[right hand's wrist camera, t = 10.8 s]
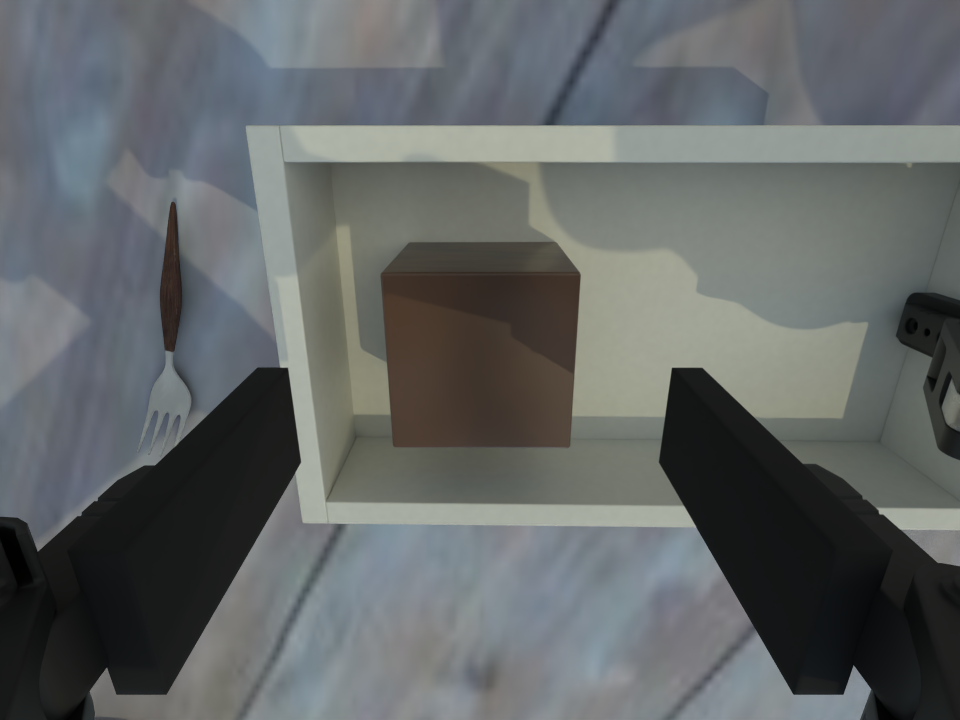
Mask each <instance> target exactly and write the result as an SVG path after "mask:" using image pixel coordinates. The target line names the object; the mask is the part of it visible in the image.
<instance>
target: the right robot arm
mask: <svg viewBox="0 0 960 720" xmlns="http://www.w3.org/2000/svg"><path fill="white" fill-rule="evenodd" d="M300 464H301V457H300V449H299V442H298V435H297V428H296V421H295V414H294V406H293V399H292V392H291V385H290V378H289V370H288V368H257V369H256V370H255V371H254V372H253V373H251V374H250V375H249V376H248V377H247V378H246V379H245V380H244V381H243V382H242V383H241V384H240V385H239V386H238V387H237V388H236V389H235V390H234V391H233V392H232V393H231V394H230V395H228V396H227V397H226V398H225V399H224V400H223V401H222V402H221V403H220V404H219V405H218V406H217V407H216V408H215V409H214V410H213V411H212V412H211V413H210V414H209V415H208V416H207V417H206V418H204V419H203V420H202V421H201V422H200V423H199V424H198V425H197V426H196V427H195V428H194V429H193V430H192V431H191V432H190V433H189V434H188V435H187V436H186V437H185V438H184V439H183V440H181V441H180V442H179V443H178V444H177V445H176V446H175V447H174V448H173V449H172V450H171V451H170V452H169V453H168V454H167V455H166V456H165V457H164V458H163V459H162V460H161V461H160V462H158V463H157V464H156V465H155V466H143V467H141V468H139V469H137V470H136V471H134V472H132V473H130V474H128V475H126V476H125V477H123V478H121V479H119V480H117V481H116V482H115V483H114V484H113V485H112V486H111V487H110V488H109V489H107V490H106V491H105V492H104V493H103V494H102V495H101V496H100V497H99V498H98V501H94V502H93V503H92V504H91V505H90V506H88V507H87V508H86V509H85V510H84V511H83V512H82V515H81V516H77V517H76V518H75V519H74V520H73V521H72V522H71V523H70V524H68V525H67V526H66V527H65V528H64V529H63V530H62V531H61V532H60V533H58V534H57V535H56V536H55V537H54V538H53V539H52V540H51V541H50V542H48V543H47V544H46V545H45V546H44V547H43V548H42V549H41V550H40V551H37V549H36V546H35V543H34V541H33V538H32V535H31V533H30V530H29V527H28V524H27V523H25V522H24V521H22V520H20V519H19V518H12V517H0V720H94V715H95V711H94V705H93V700H92V697H91V695H90V692H89V691H90V690H91V688H92V687H93V685H94V684H95V683H96V681H97V680H98V679H99V677H100V676H101V674H102V673H103V672H104V670H105V669H106V668H108V671H109V674H110V677H111V680H112V683H113V686H114V688H115V691H116V694H117V695H166V694H167V693H168V691H169V689H170V687H171V686H172V684H173V682H174V681H175V679H176V677H177V675H178V674H179V672H180V670H181V669H182V667H183V665H184V663H185V662H186V660H187V658H188V656H189V655H190V653H191V651H192V650H193V648H194V646H195V644H196V643H197V641H198V639H199V638H200V636H201V634H202V632H203V631H204V629H205V627H206V626H207V624H208V622H209V620H210V619H211V617H212V615H213V613H214V612H215V610H216V608H217V607H218V605H219V603H220V601H221V600H222V598H223V596H224V595H225V593H226V591H227V589H228V588H229V586H230V584H231V582H232V581H233V579H234V577H235V576H236V574H237V572H238V570H239V569H240V567H241V565H242V564H243V562H244V560H245V558H246V557H247V555H248V553H249V552H250V550H251V548H252V546H253V545H254V543H255V541H256V539H257V538H258V536H259V534H260V533H261V531H262V529H263V527H264V526H265V524H266V522H267V521H268V519H269V517H270V515H271V514H272V512H273V510H274V508H275V507H276V505H277V503H278V502H279V500H280V498H281V496H282V495H283V493H284V491H285V490H286V488H287V486H288V484H289V483H290V481H291V479H292V478H293V476H294V474H295V472H296V471H297V469H298V467H299V465H300ZM659 464H660V465H661V467H662V469H663V471H664V472H665V474H666V476H667V478H668V479H669V481H670V483H671V484H672V486H673V488H674V490H675V491H676V493H677V495H678V496H679V498H680V500H681V502H682V503H683V505H684V507H685V509H686V510H687V512H688V514H689V515H690V517H691V519H692V521H693V522H694V524H695V526H696V527H697V529H698V531H699V533H700V534H701V536H702V538H703V539H704V541H705V543H706V545H707V546H708V548H709V550H710V552H711V553H712V555H713V557H714V558H715V560H716V562H717V564H718V565H719V567H720V569H721V570H722V572H723V574H724V576H725V577H726V579H727V581H728V583H729V584H730V586H731V588H732V589H733V591H734V593H735V595H736V596H737V598H738V600H739V601H740V603H741V605H742V607H743V608H744V610H745V612H746V613H747V615H748V617H749V619H750V620H751V622H752V624H753V626H754V627H755V629H756V631H757V632H758V634H759V636H760V638H761V639H762V641H763V643H764V644H765V646H766V648H767V650H768V651H769V653H770V655H771V657H772V658H773V660H774V662H775V663H776V665H777V667H778V669H779V670H780V672H781V674H782V675H783V677H784V679H785V681H786V682H787V684H788V686H789V687H790V689H791V691H792V693H793V694H794V695H843V694H844V691H845V688H846V686H847V683H848V680H849V677H850V674H851V671H852V668H853V665H854V666H855V667H856V669H857V670H858V671H859V673H860V674H861V676H862V677H863V678H864V680H865V681H866V682H867V684H868V685H869V686H870V688H871V692H870V695H869V697H868V700H867V703H866V705H865V708H864V711H863V713H862V716H861V719H860V720H960V566H954V565H949V564H943V563H937V562H936V561H935V560H934V559H933V558H932V557H930V556H929V555H928V554H927V553H926V552H925V551H924V550H923V549H921V548H920V547H919V546H918V545H917V544H916V543H915V542H914V541H912V540H911V539H910V538H909V537H908V536H907V535H906V534H905V533H903V532H902V531H901V530H900V529H899V528H898V527H897V526H896V525H895V524H893V523H892V522H891V521H890V520H889V519H888V518H887V517H886V516H884V515H883V514H879V510H878V509H877V508H875V507H874V506H873V505H872V504H871V503H870V502H869V501H868V500H866V499H863V498H862V495H861V494H860V493H859V492H858V491H856V490H855V489H854V488H853V487H852V486H851V485H850V484H849V483H847V482H846V481H845V480H844V479H843V478H841V477H839V476H837V475H836V474H834V473H832V472H830V471H828V470H826V469H825V468H823V467H821V466H819V465H817V464H803V463H802V462H800V461H799V460H798V459H797V458H796V457H795V456H794V455H793V454H792V453H791V452H790V451H789V450H788V449H787V448H786V447H785V446H784V445H783V444H782V443H781V442H780V441H779V440H777V439H776V438H775V437H774V436H773V435H772V434H771V433H770V432H769V431H768V430H767V429H766V428H765V427H764V426H763V425H762V424H761V423H760V422H759V421H758V420H757V419H756V418H754V417H753V416H752V415H751V414H750V413H749V412H748V411H747V410H746V409H745V408H744V407H743V406H742V405H741V404H740V403H739V402H738V401H737V400H736V399H735V398H734V397H733V396H731V395H730V394H729V393H728V392H727V391H726V390H725V389H724V388H723V387H722V386H721V385H720V384H719V383H718V382H717V381H716V380H715V379H714V378H713V377H712V376H711V375H710V374H709V373H707V372H706V371H705V370H704V369H703V368H672V370H671V378H670V385H669V392H668V399H667V406H666V413H665V421H664V428H663V435H662V442H661V449H660V457H659Z"/></svg>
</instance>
